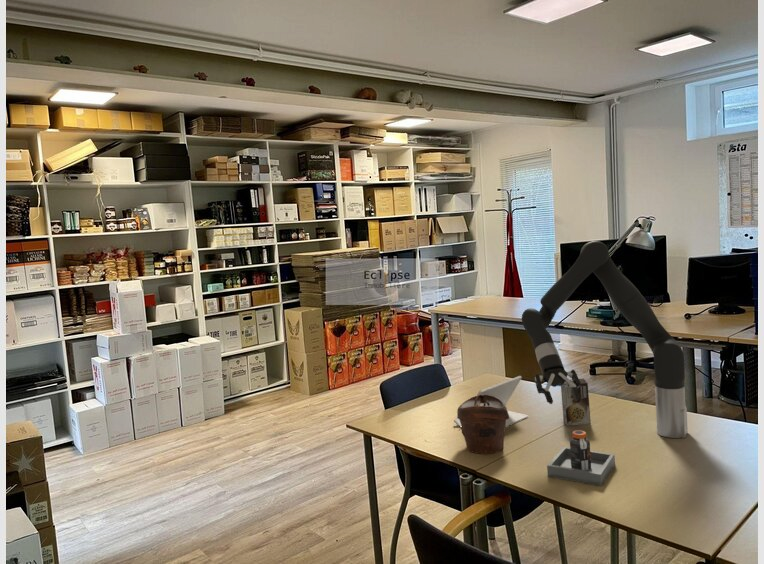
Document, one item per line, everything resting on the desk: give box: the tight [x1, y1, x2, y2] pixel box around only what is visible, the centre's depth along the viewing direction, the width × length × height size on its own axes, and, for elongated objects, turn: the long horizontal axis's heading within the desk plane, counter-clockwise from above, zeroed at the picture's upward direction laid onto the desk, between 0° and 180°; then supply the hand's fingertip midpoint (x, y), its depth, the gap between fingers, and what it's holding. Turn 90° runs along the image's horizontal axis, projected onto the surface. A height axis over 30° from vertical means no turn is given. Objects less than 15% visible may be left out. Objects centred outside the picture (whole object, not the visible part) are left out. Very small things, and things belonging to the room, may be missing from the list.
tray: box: [546, 446, 616, 487], centre depth 179 cm, size 16×16×4 cm
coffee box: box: [560, 378, 592, 426], centre depth 220 cm, size 9×6×16 cm
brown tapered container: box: [456, 394, 509, 455], centre depth 205 cm, size 18×20×18 cm
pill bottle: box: [569, 429, 591, 470], centre depth 179 cm, size 6×6×11 cm
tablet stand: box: [453, 375, 529, 428], centre depth 230 cm, size 18×25×17 cm
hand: (564, 401), depth 190 cm, fingers open, 8 cm apart
